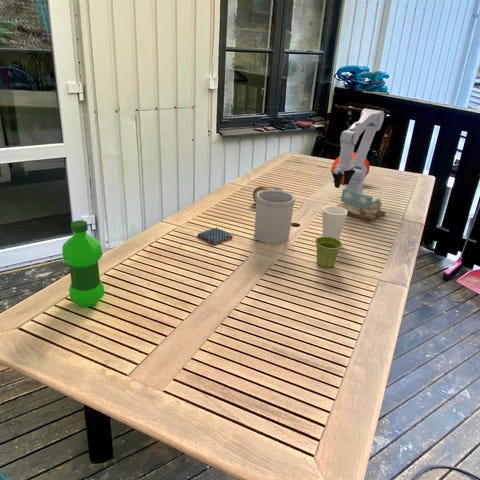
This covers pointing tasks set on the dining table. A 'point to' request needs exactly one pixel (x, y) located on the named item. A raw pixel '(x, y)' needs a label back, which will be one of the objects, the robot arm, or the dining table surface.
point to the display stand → (364, 211)
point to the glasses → (358, 199)
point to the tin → (261, 190)
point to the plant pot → (327, 250)
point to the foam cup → (333, 221)
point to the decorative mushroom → (352, 160)
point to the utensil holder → (273, 216)
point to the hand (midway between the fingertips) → (341, 185)
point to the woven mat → (214, 236)
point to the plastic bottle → (83, 265)
